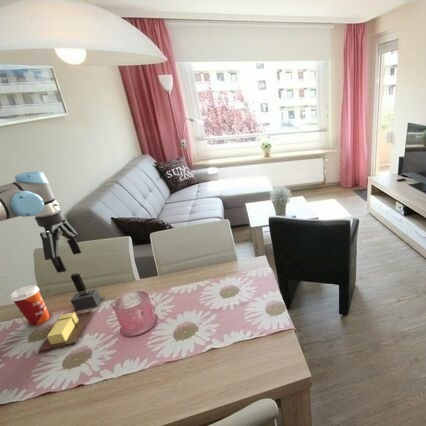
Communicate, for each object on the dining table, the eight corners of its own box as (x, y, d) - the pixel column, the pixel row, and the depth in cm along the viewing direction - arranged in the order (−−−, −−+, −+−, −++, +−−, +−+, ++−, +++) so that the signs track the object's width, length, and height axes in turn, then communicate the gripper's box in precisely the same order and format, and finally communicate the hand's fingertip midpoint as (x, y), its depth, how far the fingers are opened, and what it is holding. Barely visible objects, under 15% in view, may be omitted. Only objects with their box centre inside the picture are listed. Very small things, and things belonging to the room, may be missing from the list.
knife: (83, 305, 125) (69, 276, 119) (85, 302, 127) (71, 274, 121) (90, 303, 126) (77, 275, 120) (92, 300, 128) (79, 272, 122)
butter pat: (62, 327, 114) (58, 319, 113) (65, 322, 116) (61, 314, 115) (76, 324, 115) (72, 316, 114) (78, 319, 118) (74, 312, 116)
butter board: (39, 352, 105) (38, 350, 104) (61, 319, 119) (60, 317, 119) (75, 344, 108) (74, 342, 107) (92, 312, 122) (91, 311, 122)
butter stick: (51, 344, 106) (46, 336, 105) (61, 329, 113) (57, 321, 112) (65, 341, 108) (61, 333, 106) (75, 325, 115) (71, 318, 113)
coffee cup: (50, 322, 118) (34, 293, 112) (24, 331, 114) (5, 300, 108) (55, 310, 125) (40, 281, 119) (30, 317, 121) (13, 288, 115)
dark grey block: (75, 310, 124) (70, 300, 122) (80, 303, 128) (75, 293, 126) (97, 306, 126) (92, 296, 124) (101, 298, 130) (96, 289, 128)
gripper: (41, 225, 97) (67, 278, 106) (74, 200, 119) (93, 245, 128) (14, 229, 95) (42, 282, 104) (52, 203, 117) (73, 248, 126)
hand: (70, 262), depth 116 cm, fingers open, 13 cm apart
